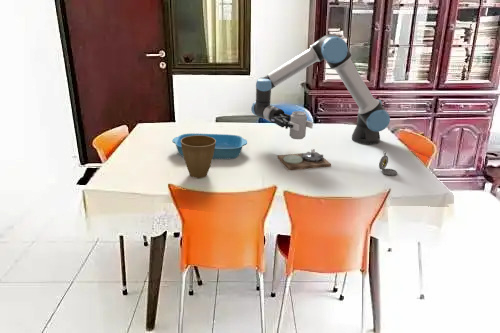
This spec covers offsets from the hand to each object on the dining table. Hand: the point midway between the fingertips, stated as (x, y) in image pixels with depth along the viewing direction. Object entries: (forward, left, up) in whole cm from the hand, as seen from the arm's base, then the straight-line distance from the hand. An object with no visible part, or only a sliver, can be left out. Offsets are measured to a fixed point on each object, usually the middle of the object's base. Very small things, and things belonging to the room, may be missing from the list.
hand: (305, 126), depth 197 cm
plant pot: (+49, +1, -19) cm, 53 cm away
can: (+2, -5, -7) cm, 8 cm away
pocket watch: (-35, +17, -19) cm, 43 cm away
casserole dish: (+39, -25, -19) cm, 51 cm away
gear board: (-2, -3, -19) cm, 19 cm away
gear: (-6, -3, -17) cm, 19 cm away
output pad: (+4, -3, -17) cm, 18 cm away
